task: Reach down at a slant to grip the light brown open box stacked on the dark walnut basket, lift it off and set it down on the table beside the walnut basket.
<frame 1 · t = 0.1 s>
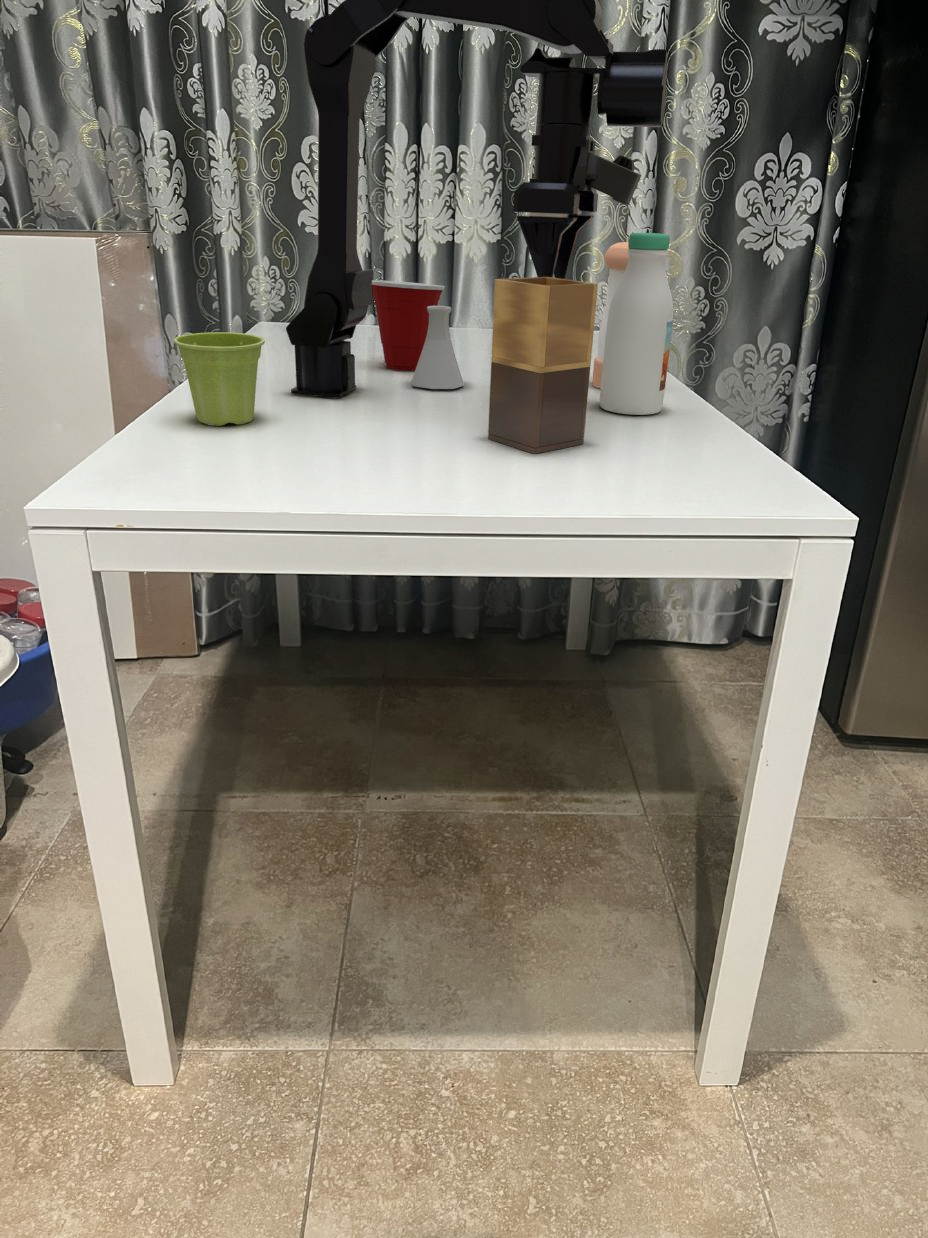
hand: (553, 282, 102), 15 cm above the table, tool pointing down, fingers open, 9 cm apart
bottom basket: (535, 441, 96), on the table, touching light brown open box
milk bottle: (629, 410, 112), on the table
light brown open box: (540, 364, 92), point 8 cm above the table, touching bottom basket
flask: (437, 387, 121), on the table
plastic cup: (406, 368, 132), on the table
plant pot: (226, 421, 100), on the table
pepper shaker: (618, 387, 125), on the table
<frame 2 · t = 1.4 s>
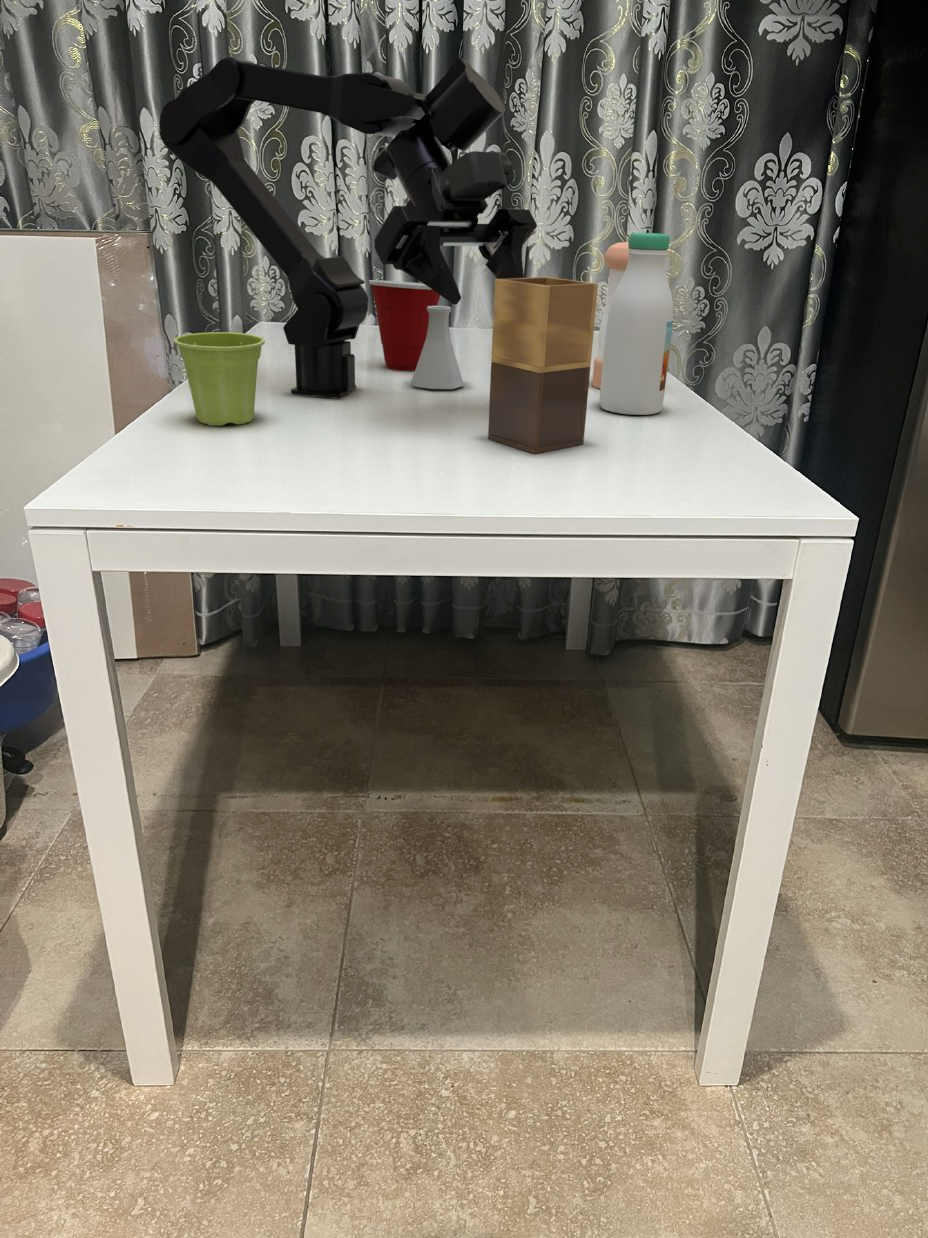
hand: (491, 299, 96), 13 cm above the table, tool tilted 45°, fingers open, 9 cm apart
nothing on the table moved.
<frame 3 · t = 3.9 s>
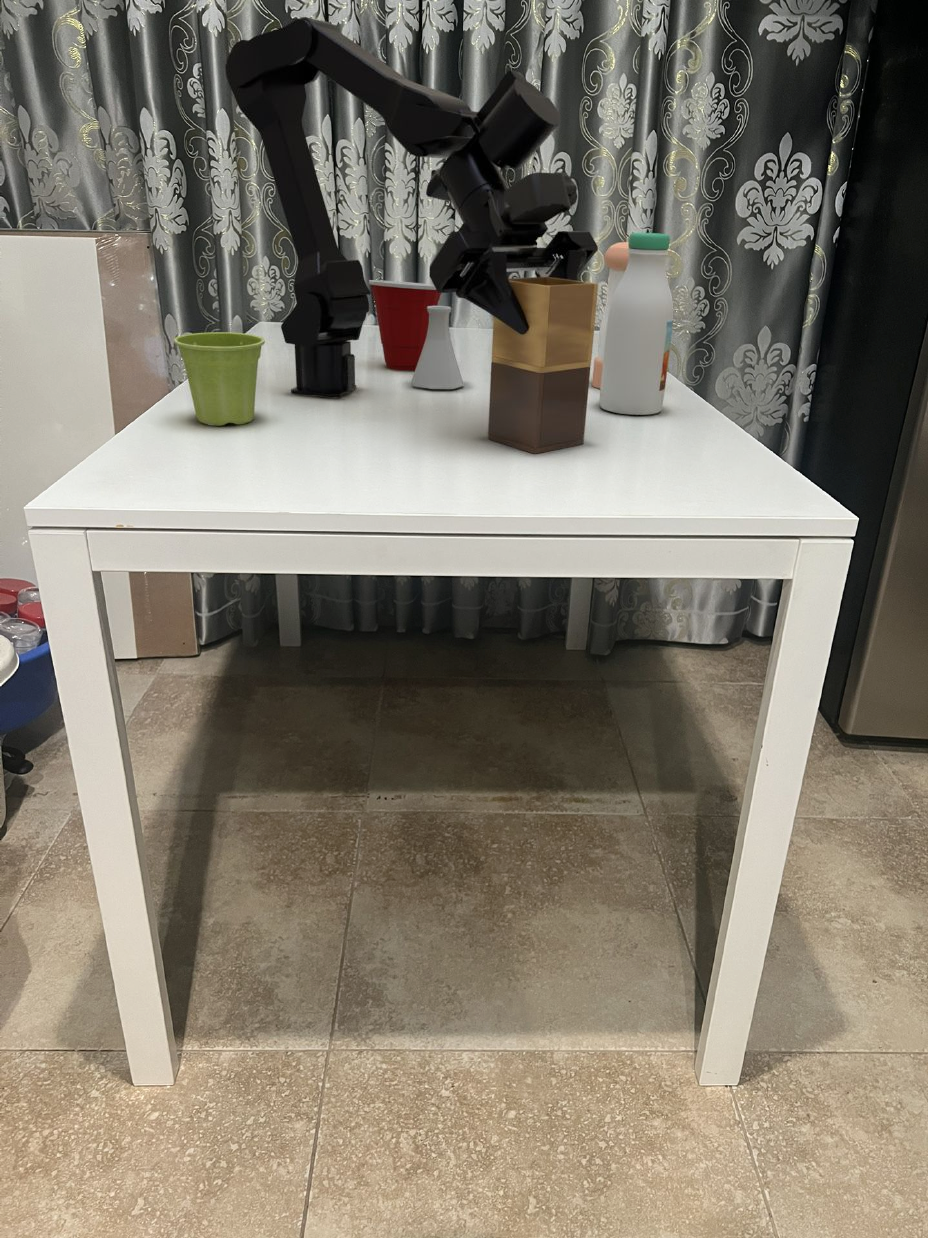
hand: (552, 329, 90), 12 cm above the table, tool tilted 45°, fingers closed on light brown open box, 7 cm apart
light brown open box: (540, 364, 92), point 8 cm above the table, touching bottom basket, gripper
everything else where it was.
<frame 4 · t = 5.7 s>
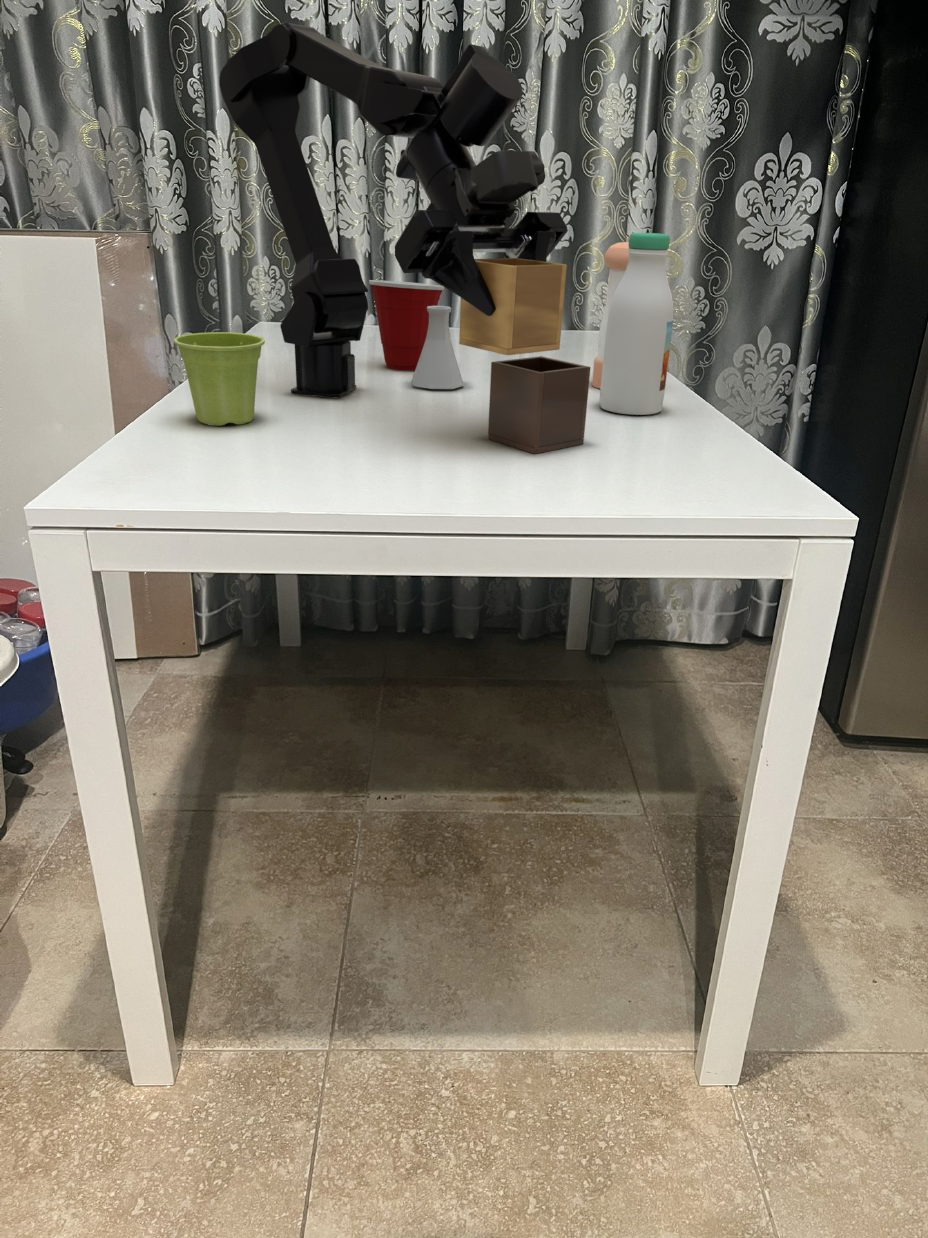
hand: (520, 310, 89), 13 cm above the table, tool tilted 45°, fingers closed on light brown open box, 7 cm apart
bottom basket: (535, 441, 96), on the table
light brown open box: (509, 346, 91), point 10 cm above the table, touching gripper
everything else where it was.
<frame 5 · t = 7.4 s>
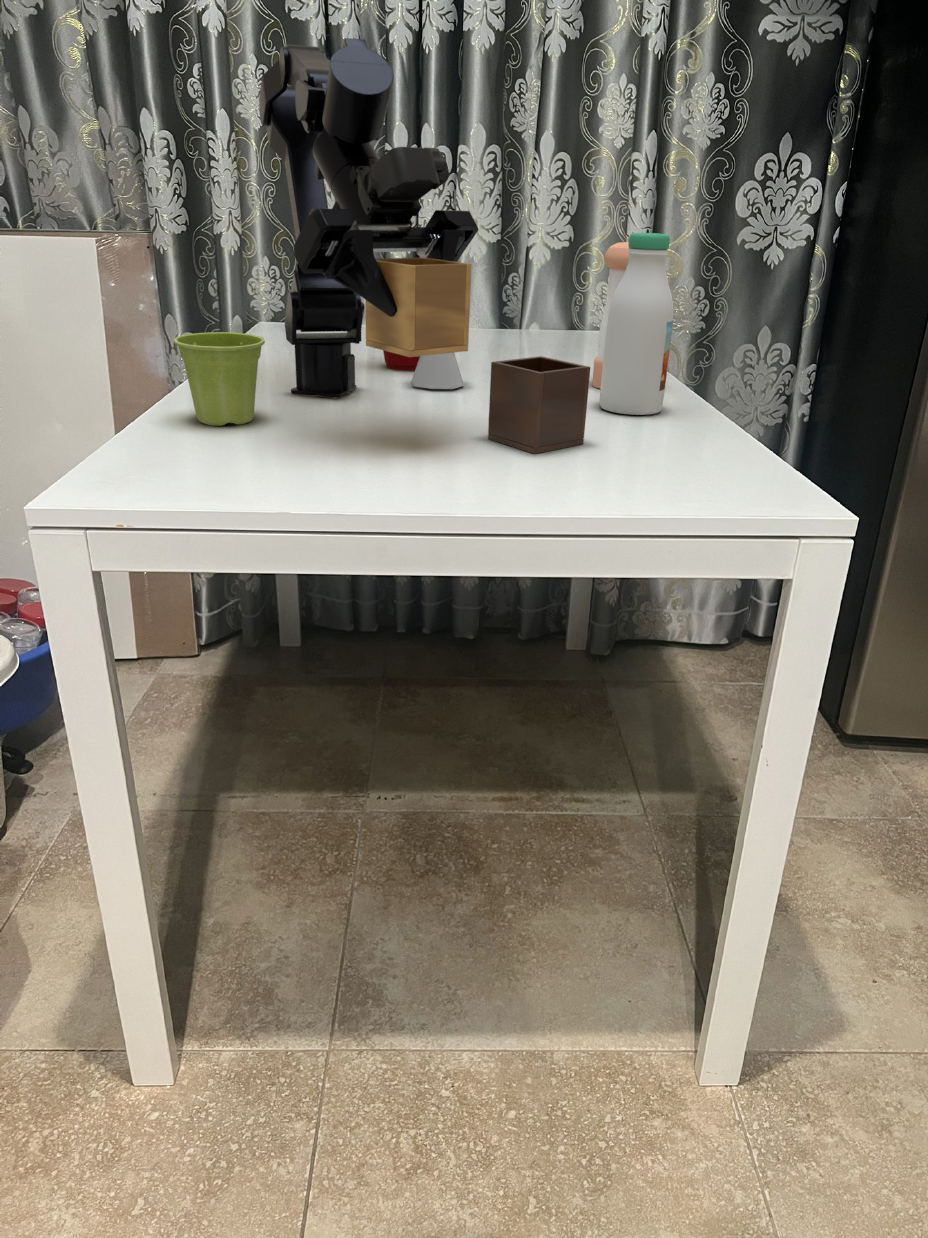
hand: (425, 311, 86), 13 cm above the table, tool tilted 45°, fingers closed on light brown open box, 7 cm apart
light brown open box: (416, 348, 89), point 10 cm above the table, touching gripper
everything else where it was.
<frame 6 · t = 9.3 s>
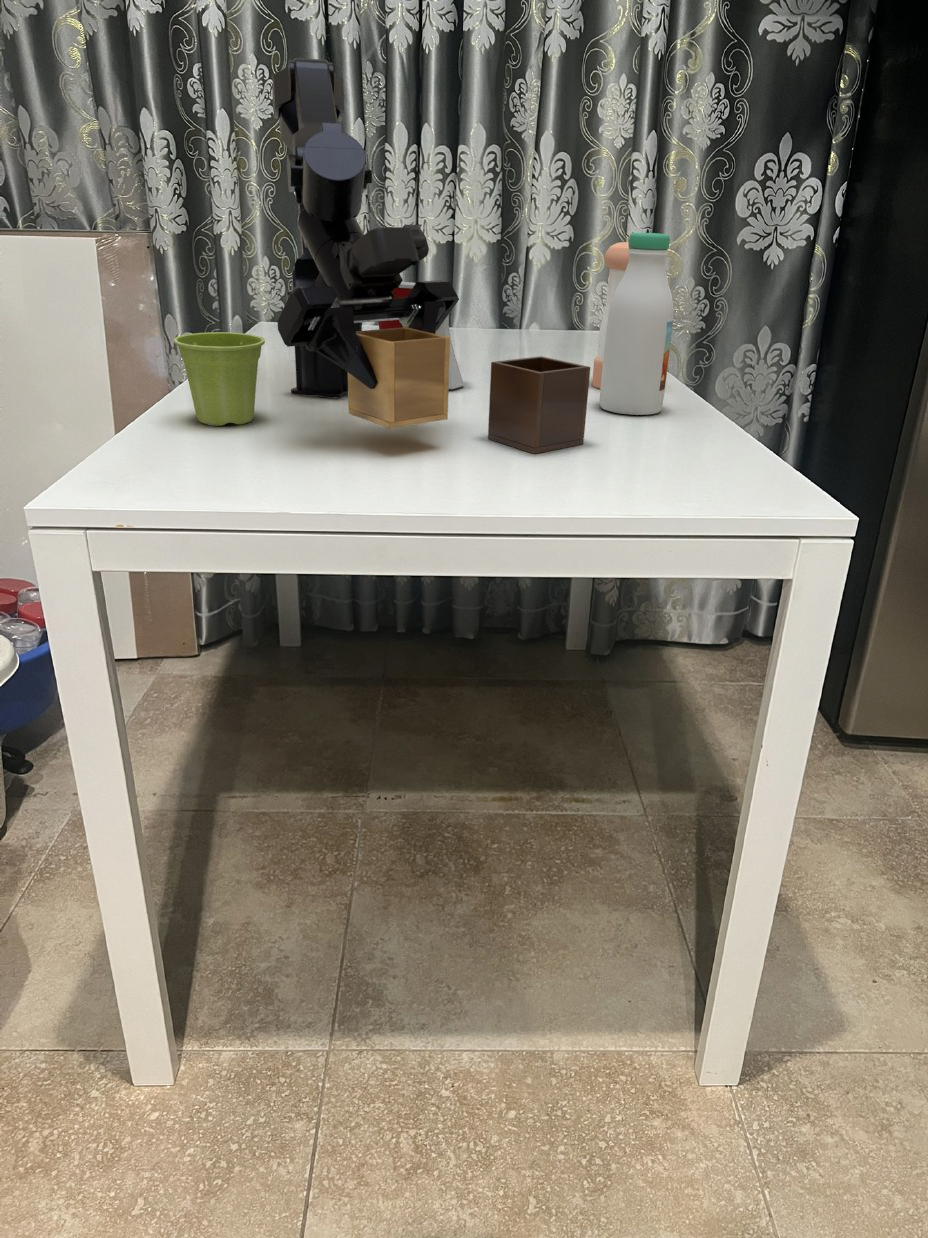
hand: (405, 382, 89), 7 cm above the table, tool tilted 45°, fingers closed on light brown open box, 7 cm apart
light brown open box: (397, 416, 91), point 3 cm above the table, touching gripper
everything else where it was.
when the fingers open (4 cm above the table, at t = 10.9 s): light brown open box stays where it is, on the table.
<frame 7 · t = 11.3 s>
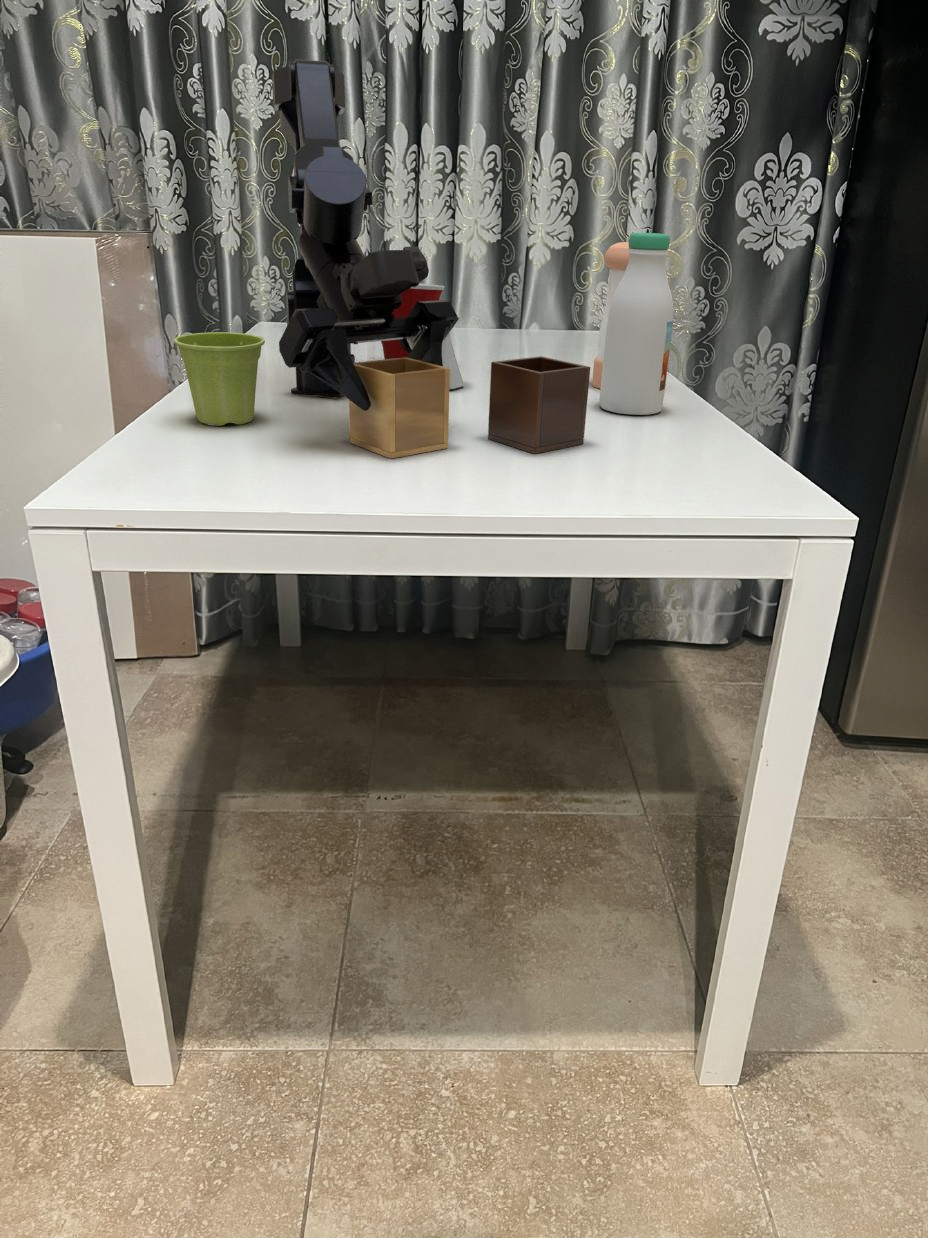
hand: (406, 402, 90), 5 cm above the table, tool tilted 45°, fingers open, 9 cm apart
light brown open box: (398, 445, 93), on the table
everything else where it was.
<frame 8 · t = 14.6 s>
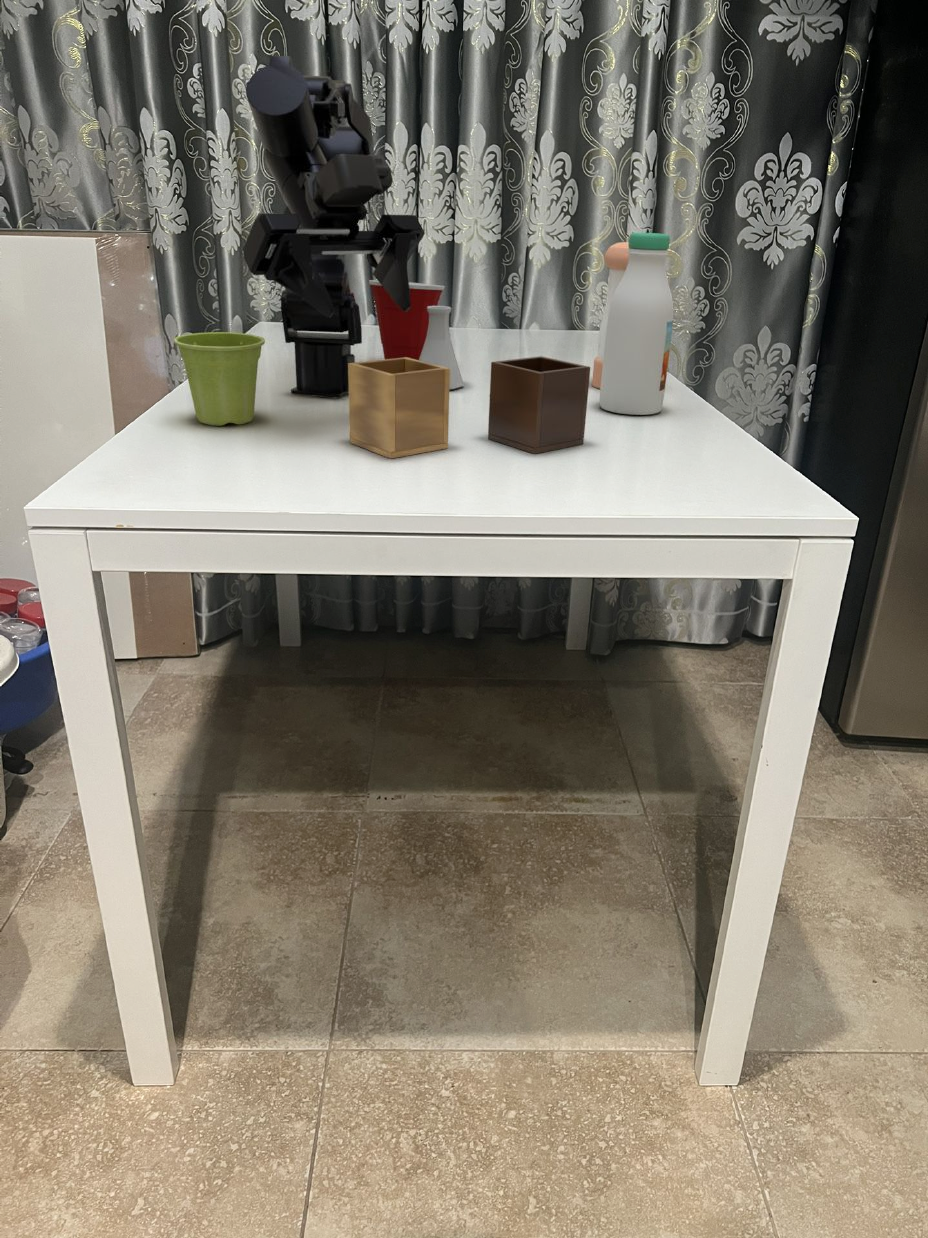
hand: (370, 311, 90), 13 cm above the table, tool tilted 45°, fingers open, 9 cm apart
nothing on the table moved.
at the end: light brown open box touching table; light brown open box inside the target area (0.1 cm from its centre), on the table; light brown open box tilted 0° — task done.
